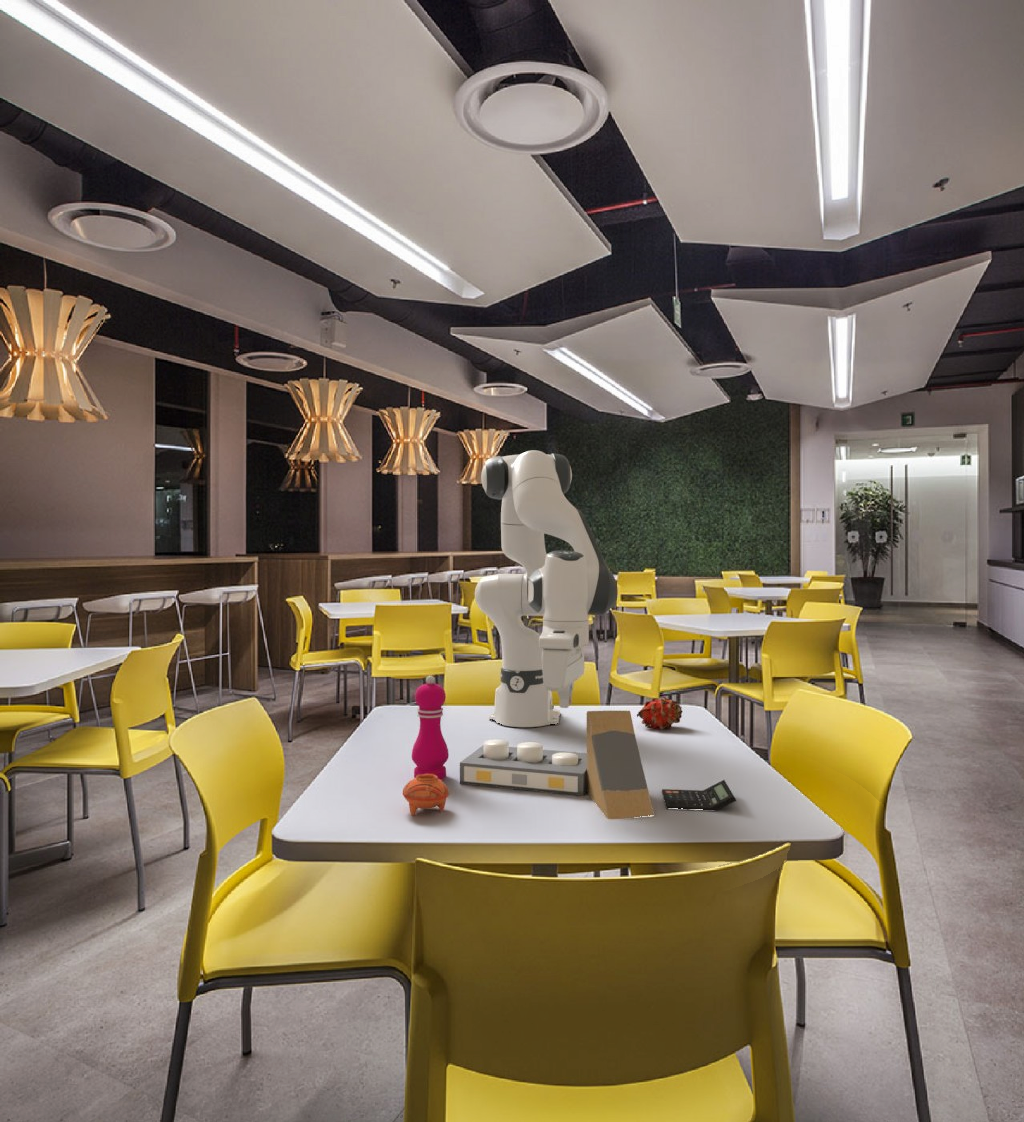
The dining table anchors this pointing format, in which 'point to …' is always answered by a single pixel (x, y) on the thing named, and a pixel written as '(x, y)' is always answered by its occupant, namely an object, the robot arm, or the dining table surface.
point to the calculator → (699, 797)
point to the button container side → (565, 759)
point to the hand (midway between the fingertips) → (565, 706)
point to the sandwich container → (615, 766)
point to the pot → (425, 793)
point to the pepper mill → (430, 731)
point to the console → (525, 773)
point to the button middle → (530, 752)
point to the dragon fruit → (660, 713)
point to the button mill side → (496, 749)
